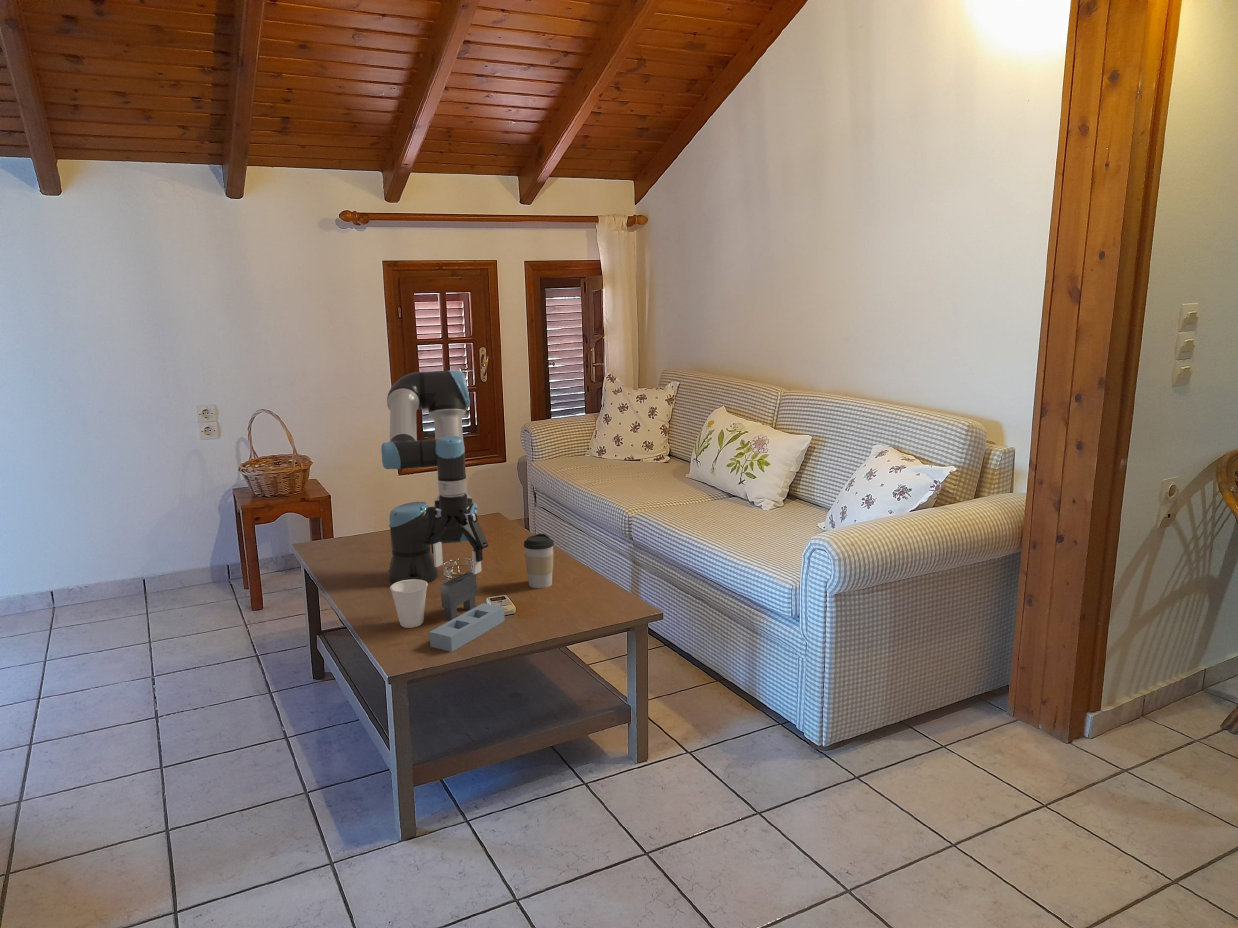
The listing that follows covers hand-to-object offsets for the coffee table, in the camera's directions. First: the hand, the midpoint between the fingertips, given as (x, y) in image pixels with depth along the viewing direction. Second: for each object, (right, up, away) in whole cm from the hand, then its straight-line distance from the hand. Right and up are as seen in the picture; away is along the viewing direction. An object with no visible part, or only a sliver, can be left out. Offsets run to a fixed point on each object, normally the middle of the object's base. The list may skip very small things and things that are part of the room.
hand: (457, 569), depth 243 cm
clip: (0, -13, +3) cm, 13 cm away
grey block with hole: (+5, -16, -11) cm, 20 cm away
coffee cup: (+21, -8, +24) cm, 33 cm away
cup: (-12, -15, -3) cm, 19 cm away
